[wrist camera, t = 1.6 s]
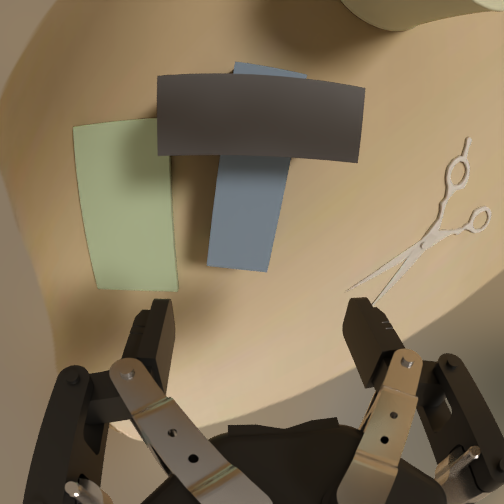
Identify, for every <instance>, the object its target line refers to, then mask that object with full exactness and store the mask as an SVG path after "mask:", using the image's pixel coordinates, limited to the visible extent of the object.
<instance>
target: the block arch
mask: <svg viewBox="0 0 504 504" xmlns="http://www.w3.org/2000/svg"><path fill="white" fill-rule="evenodd" d="M364 98H365V88H362V87H357V86H352V85H346V84H340V83H334V82H327V81H320V80H312V79H304V78H295V77H284V76H272V75H256V74H179V75H163V76H158V77H157V150H158V156H175V155H245V156H273V157H291V158H306V159H319V160H331V161H342V162H351V163H358V156H359V148H360V139H361V130H362V121H363V110H364Z"/></svg>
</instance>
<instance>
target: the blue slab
mask: <svg viewBox="0 0 504 504" xmlns="http://www.w3.org/2000/svg"><path fill="white" fill-rule="evenodd" d="M233 74H256V75H272V76H284V77H295V78H304V79H306V78H307V75H306V74H302V73H297V72H293V71H288V70H283V69H278V68H273V67H267V66H261V65H255V64H249V63H242V62H235V66H234V72H233ZM290 160H291V157H273V156H245V155H220V161H219V168H218V175H217V183H216V191H215V198H214V206H213V215H212V223H211V231H210V240H209V249H208V259H207V266H213V267H222V268H231V269H241V270H250V271H260V272H267V270H268V265H269V261H270V256H271V251H272V247H273V242H274V237H275V233H276V228H277V223H278V219H279V214H280V209H281V204H282V199H283V195H284V190H285V185H286V180H287V175H288V170H289V165H290Z"/></svg>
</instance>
